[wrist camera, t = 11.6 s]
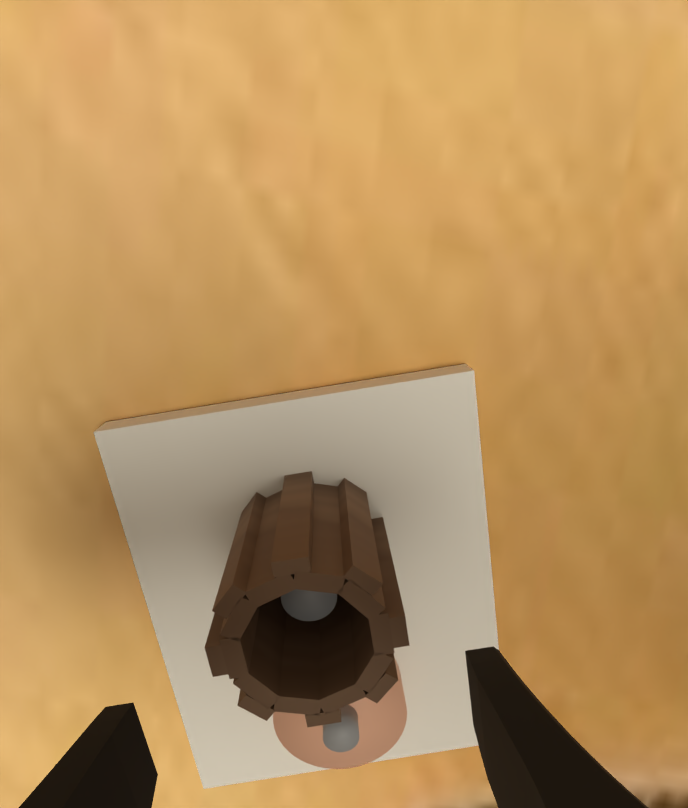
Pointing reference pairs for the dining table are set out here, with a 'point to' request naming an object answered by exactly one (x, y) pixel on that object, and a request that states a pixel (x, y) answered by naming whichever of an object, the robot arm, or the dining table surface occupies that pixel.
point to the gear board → (334, 445)
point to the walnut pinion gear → (313, 571)
